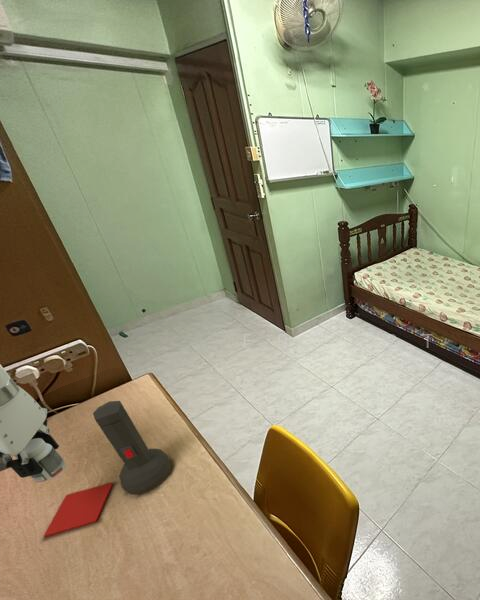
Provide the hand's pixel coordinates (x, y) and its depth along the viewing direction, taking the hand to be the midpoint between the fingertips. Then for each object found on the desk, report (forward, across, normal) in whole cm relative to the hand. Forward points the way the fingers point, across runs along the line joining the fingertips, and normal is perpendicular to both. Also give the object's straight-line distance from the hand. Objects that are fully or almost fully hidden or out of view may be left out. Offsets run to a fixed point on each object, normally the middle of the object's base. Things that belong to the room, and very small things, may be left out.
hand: (40, 461), depth 63 cm
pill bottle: (+4, 0, 0) cm, 4 cm away
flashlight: (+18, -4, +12) cm, 22 cm away
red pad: (+17, 0, 0) cm, 17 cm away
